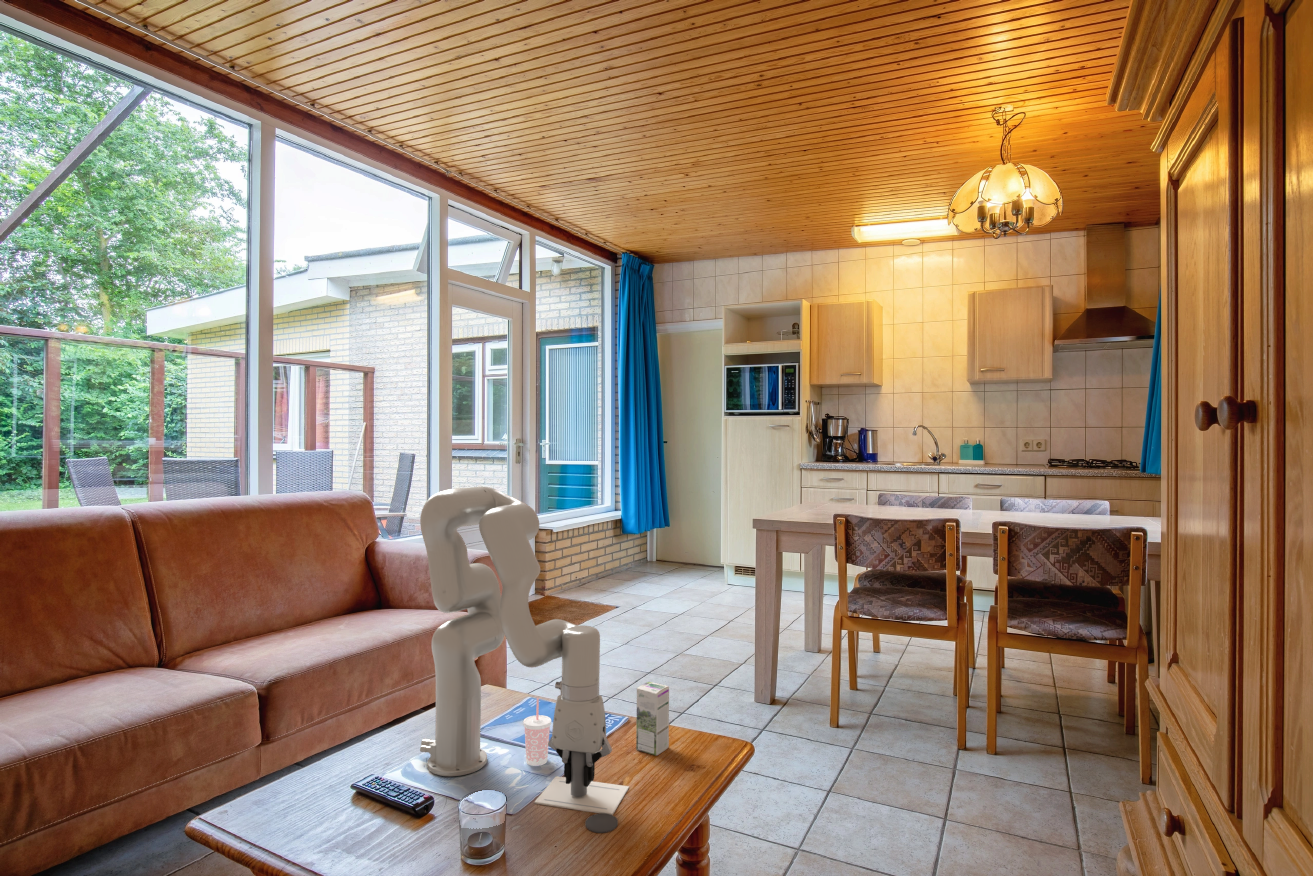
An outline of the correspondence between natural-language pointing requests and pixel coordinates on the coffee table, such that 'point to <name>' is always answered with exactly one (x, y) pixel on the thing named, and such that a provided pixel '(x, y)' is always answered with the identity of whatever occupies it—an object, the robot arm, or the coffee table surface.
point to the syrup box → (652, 718)
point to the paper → (595, 800)
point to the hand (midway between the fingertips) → (579, 781)
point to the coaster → (601, 823)
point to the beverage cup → (537, 738)
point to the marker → (578, 774)
